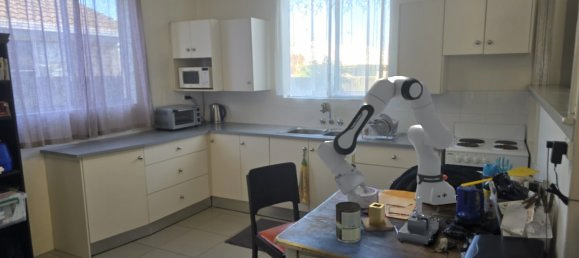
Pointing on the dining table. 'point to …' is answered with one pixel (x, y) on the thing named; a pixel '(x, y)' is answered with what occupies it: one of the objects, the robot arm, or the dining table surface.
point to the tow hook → (377, 200)
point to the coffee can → (348, 222)
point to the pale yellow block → (377, 214)
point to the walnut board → (372, 227)
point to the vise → (418, 226)
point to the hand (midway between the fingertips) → (363, 195)
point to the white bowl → (363, 197)
